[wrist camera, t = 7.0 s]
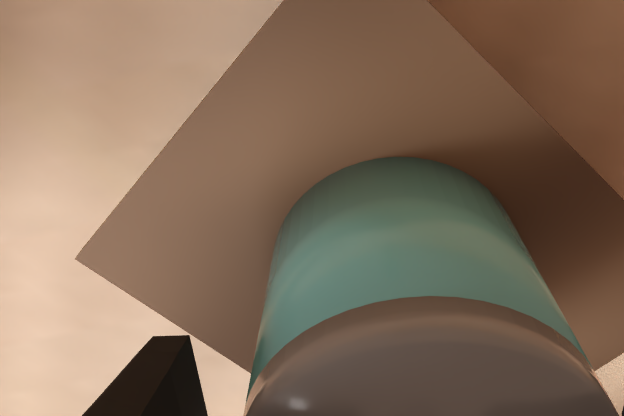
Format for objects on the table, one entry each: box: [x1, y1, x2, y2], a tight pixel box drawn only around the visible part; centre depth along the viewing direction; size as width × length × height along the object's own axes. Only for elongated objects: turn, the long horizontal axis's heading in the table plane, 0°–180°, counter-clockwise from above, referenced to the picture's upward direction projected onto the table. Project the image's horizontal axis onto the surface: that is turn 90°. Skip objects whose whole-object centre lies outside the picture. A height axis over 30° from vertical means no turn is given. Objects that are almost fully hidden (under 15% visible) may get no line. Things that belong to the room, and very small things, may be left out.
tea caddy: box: [244, 157, 619, 416], centre depth 9 cm, size 5×5×5 cm
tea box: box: [75, 0, 624, 373], centre depth 13 cm, size 10×8×4 cm
